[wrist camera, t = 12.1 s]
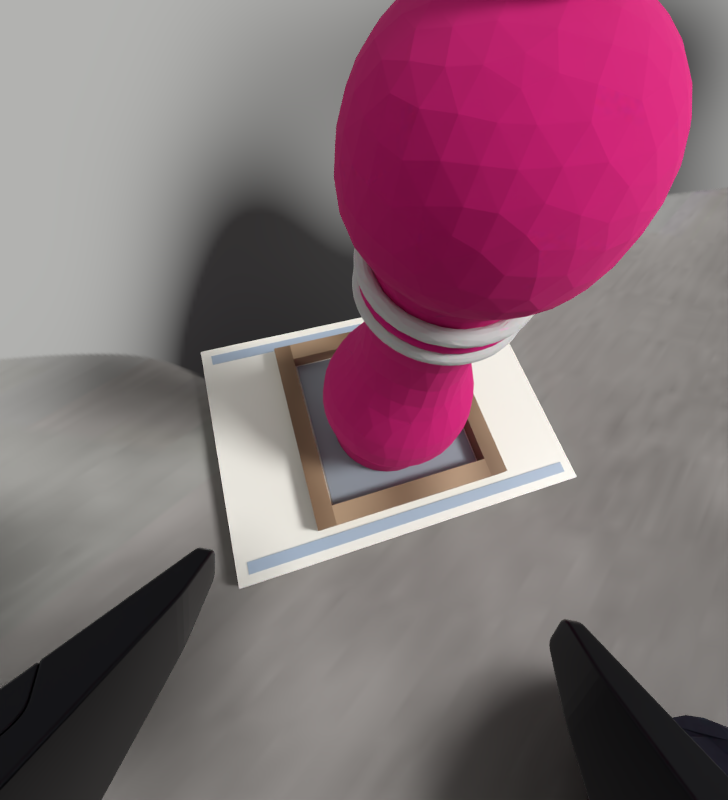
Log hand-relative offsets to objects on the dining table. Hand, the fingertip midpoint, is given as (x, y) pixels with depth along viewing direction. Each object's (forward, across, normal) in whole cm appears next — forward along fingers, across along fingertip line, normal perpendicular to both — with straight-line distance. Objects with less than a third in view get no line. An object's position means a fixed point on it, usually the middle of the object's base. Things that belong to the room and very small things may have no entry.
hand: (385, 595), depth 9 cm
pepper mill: (+13, 0, +2) cm, 13 cm away
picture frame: (+14, 0, +2) cm, 14 cm away
